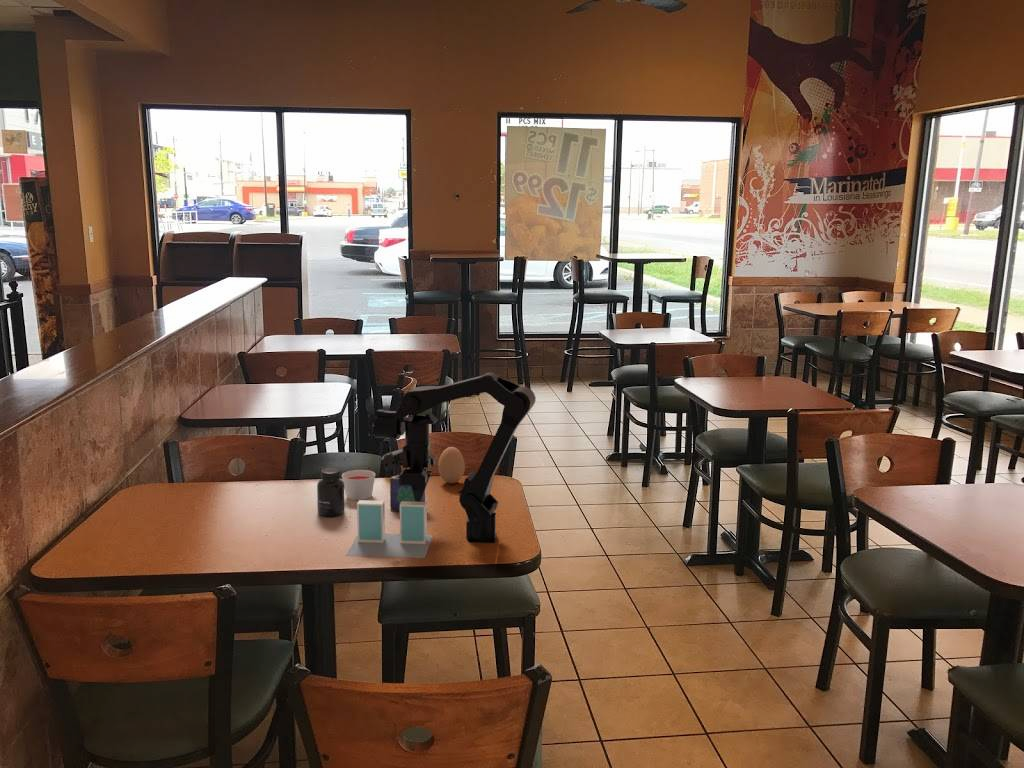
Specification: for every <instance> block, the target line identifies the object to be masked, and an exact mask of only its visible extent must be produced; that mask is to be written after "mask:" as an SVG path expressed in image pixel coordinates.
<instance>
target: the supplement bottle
mask: <svg viewBox="0 0 1024 768" xmlns="http://www.w3.org/2000/svg"><path fill="white" fill-rule="evenodd" d="M320 478H321V479H320V480H318V482H317V484H316V488H317V489H316V491H317V492H316V496H317V497H316V498H317V500H316V503H317V505H316V506H317V516H319V517H321V518H325V519H327V518H328V519H333V518H337V517H342V516H343V515H344V514H345V489H344V482H343V479H342V478H341V470H340V469H339V468H335V467H328V468H327V467H326V468H323V469H321V471H320Z"/></svg>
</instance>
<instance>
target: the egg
mask: <svg viewBox="0 0 1024 768" xmlns="http://www.w3.org/2000/svg"><path fill="white" fill-rule="evenodd" d="M437 463H438V465H437V466H438V467H437V468H438V473H439V476H440V477H441V479H442V480H443V481H444V482H445V483H447V484H450V485H451V484H452V485H453V484H456V483H458V482H459V481H460V480H461V479H462V478H463V476H464V473H465V469H466V466H465V465H466V463H465V460H464V456H463V454H462V453H461V451H460V450H459V449H458V448H456V447H454V446H449V447H447V448H445V449H444V450H443V452H441V455H440V457H439V459H438V462H437Z"/></svg>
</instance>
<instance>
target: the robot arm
mask: <svg viewBox="0 0 1024 768" xmlns="http://www.w3.org/2000/svg"><path fill="white" fill-rule="evenodd" d="M483 393H487V395H490V396H491V397H492V398H493V399H494V400H495V401H497V402H498V403H499V404H501V405H502V406H503V410H502V414H501V420H500V424H499V426H498V428H497V430H496V432H495V434H494V437H493V438H492V440H491V443H490V445H489V447H488V448H487V451H486V453H485V455H484V457H483V460H482V461H481V464H480V466H479V467H478V470H477V472H476V473H475V472H474V471H471V472H470V473H469V474H468V475H467V476H466V477H465V479H464V482H463V484H462V487H461V489H460V490H459V491H458V494H459V499H458V501H459V503H460V506H461V507H462V508H463V509H464V511H465V514H466V515H467V516H466V517H467V518H466V522H465V523H466V524H465V525H466V526H465V527H466V529H465V530H466V532H465V533H466V534H465V535H466V539H467V542H468V543H481V544H482V543H484V544H487V543H488V544H495V543H496V540H497V531H496V530H497V523H496V522H497V513H496V512H495V511H496V510H497V507H498V505H499V501H498V500H497V499H496V498H495V497H494V496H493V495H492V494H491V491H492V486H493V482H494V476H495V473H496V472H497V470H498V468H499V465H500V463H501V462H502V459H503V457H504V455H505V453H506V452H507V449H508V446H509V444H510V442H511V441H512V438H513V436H514V434H515V433H516V430H517V428H518V427H519V425H520V424H521V422H522V421H523V420H524V419H525V418H526V416H527V414H528V413H529V412H530V410H532V408H533V407H534V405H535V403H536V400H537V399H536V395H535V393H534V391H533V390H532V389H531V388H530V387H527V386H520V385H518V384H516V383H515V382H513V381H510V380H508V379H506V378H503V377H501V376H499V375H498V374H496V373H495V372H487V373H485V374H483V375H479V376H476V377H471V378H467V379H464V380H459V381H456V382H452V383H448V384H444V385H425V386H423V385H422V386H417V387H414V388H412V389H411V390H409V391H407V392H406V393H404V395H403V396H402V399H401V405H400V407H398V409H397V410H396V411H395V410H387V409H378V410H376V413H375V414H376V415H375V417H374V421H373V425H372V434H373V436H374V438H375V439H377V438H378V439H388V440H389V439H390V440H391V439H392V440H399V439H400V438H401V436H404V435H405V436H404V440H405V441H404V442H405V443H404V446H403V447H402V448H400V449H398V450H393V451H391V452H387V453H385V454H383V455H382V457H381V459H380V460H381V466H382V467H383V468H384V470H385V472H389V471H391V470H392V469H396V468H398V467H402V469H403V470H402V471H401V472H400V474H398V476H399V485H411V488H412V492H413V495H414V499H415V502H421V499H422V496H423V494H424V491H425V492H426V489H427V486H428V482H429V480H430V479H431V475H432V470H427V469H429V467H434V466H435V465H436V456H435V454H433V453H432V452H430V448H431V441H430V425H434V424H435V423H436V422H438V421H439V420H438V418H437V417H436V416H435V415H434V414H433V413H432V412H431V411H429V410H430V409H432V408H435V407H436V406H438V405H440V404H443V403H447V402H451V401H456V400H458V399H463V398H467V397H471V396H475V395H479V394H483ZM427 411H429V412H428V413H426V414H422V413H424V412H427ZM409 415H411V416H413V417H410V416H409Z"/></svg>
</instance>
